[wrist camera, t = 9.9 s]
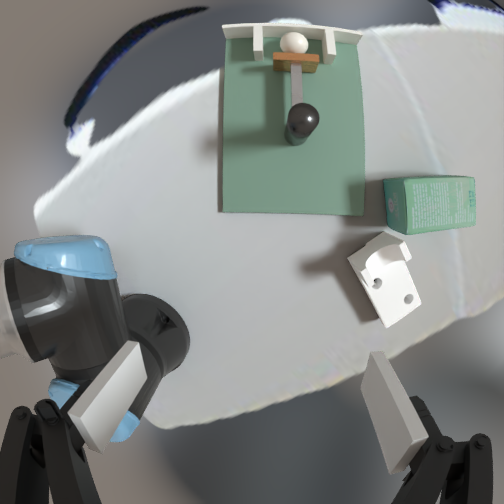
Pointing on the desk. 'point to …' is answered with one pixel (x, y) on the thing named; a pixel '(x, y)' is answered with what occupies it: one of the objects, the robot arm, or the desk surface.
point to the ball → (294, 43)
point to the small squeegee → (298, 95)
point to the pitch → (275, 117)
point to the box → (430, 203)
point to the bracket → (386, 277)
